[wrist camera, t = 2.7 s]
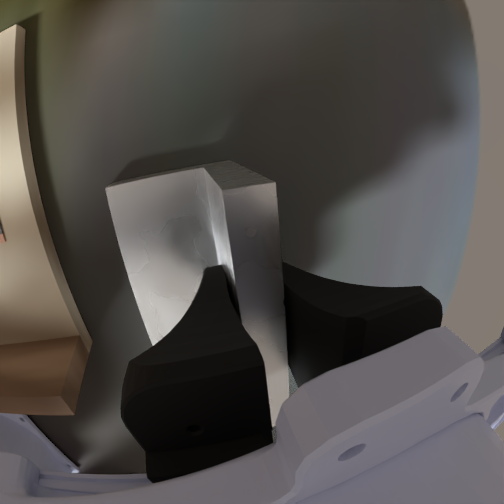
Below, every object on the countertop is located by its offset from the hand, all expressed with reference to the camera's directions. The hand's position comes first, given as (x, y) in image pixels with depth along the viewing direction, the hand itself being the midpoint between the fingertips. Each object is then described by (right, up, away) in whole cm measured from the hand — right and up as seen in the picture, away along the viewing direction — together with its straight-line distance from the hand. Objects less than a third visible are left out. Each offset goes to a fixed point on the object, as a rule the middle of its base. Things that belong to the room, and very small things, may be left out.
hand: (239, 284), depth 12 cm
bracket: (-2, +1, +2) cm, 3 cm away
